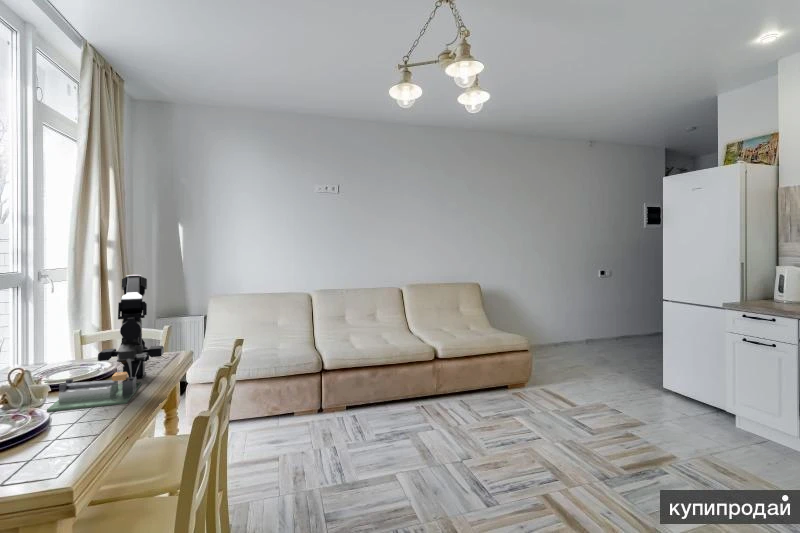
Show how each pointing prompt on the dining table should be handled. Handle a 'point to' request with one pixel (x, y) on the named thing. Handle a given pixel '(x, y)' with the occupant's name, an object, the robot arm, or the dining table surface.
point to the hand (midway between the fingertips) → (132, 377)
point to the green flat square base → (94, 395)
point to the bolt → (120, 376)
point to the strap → (91, 383)
